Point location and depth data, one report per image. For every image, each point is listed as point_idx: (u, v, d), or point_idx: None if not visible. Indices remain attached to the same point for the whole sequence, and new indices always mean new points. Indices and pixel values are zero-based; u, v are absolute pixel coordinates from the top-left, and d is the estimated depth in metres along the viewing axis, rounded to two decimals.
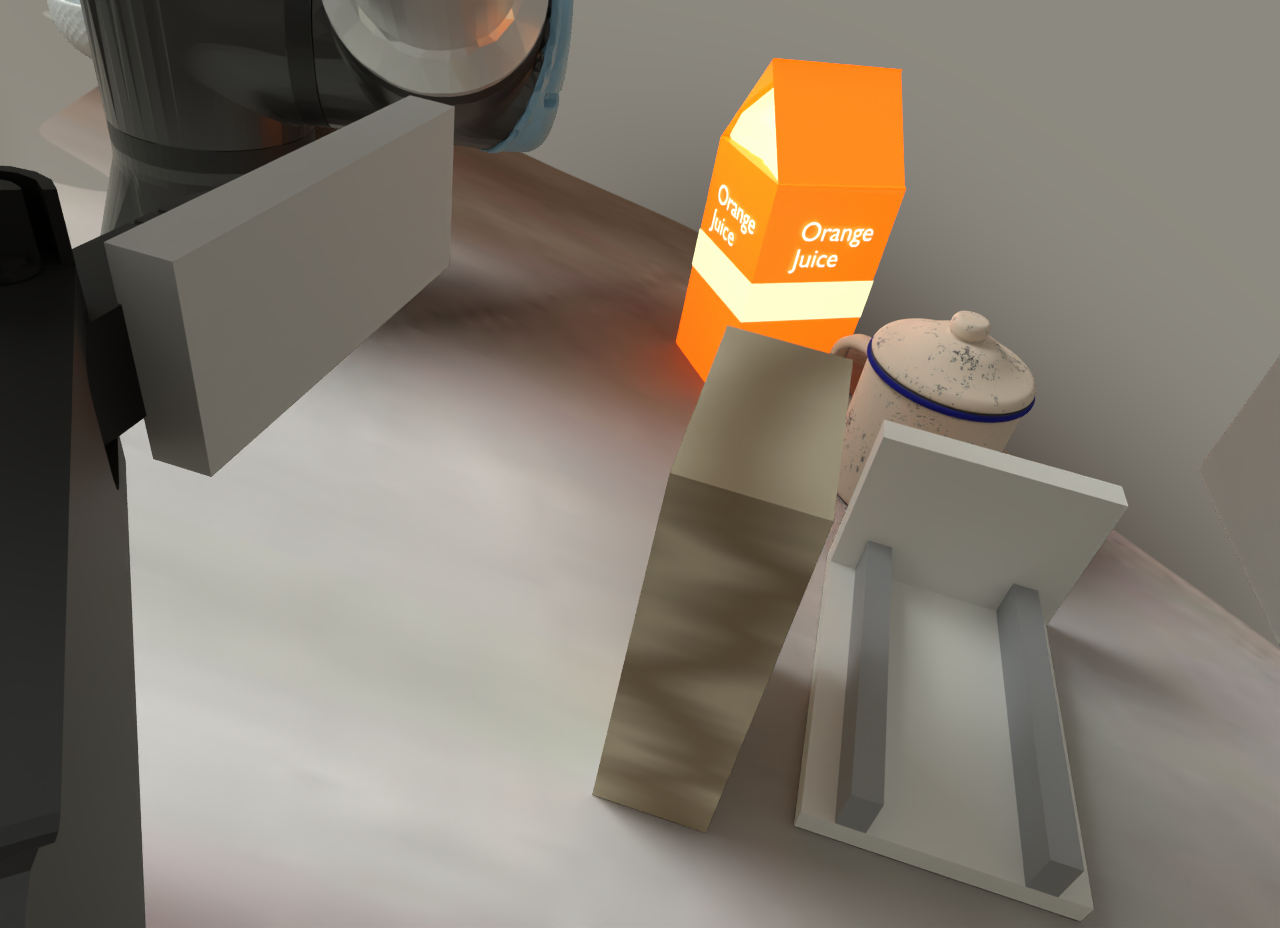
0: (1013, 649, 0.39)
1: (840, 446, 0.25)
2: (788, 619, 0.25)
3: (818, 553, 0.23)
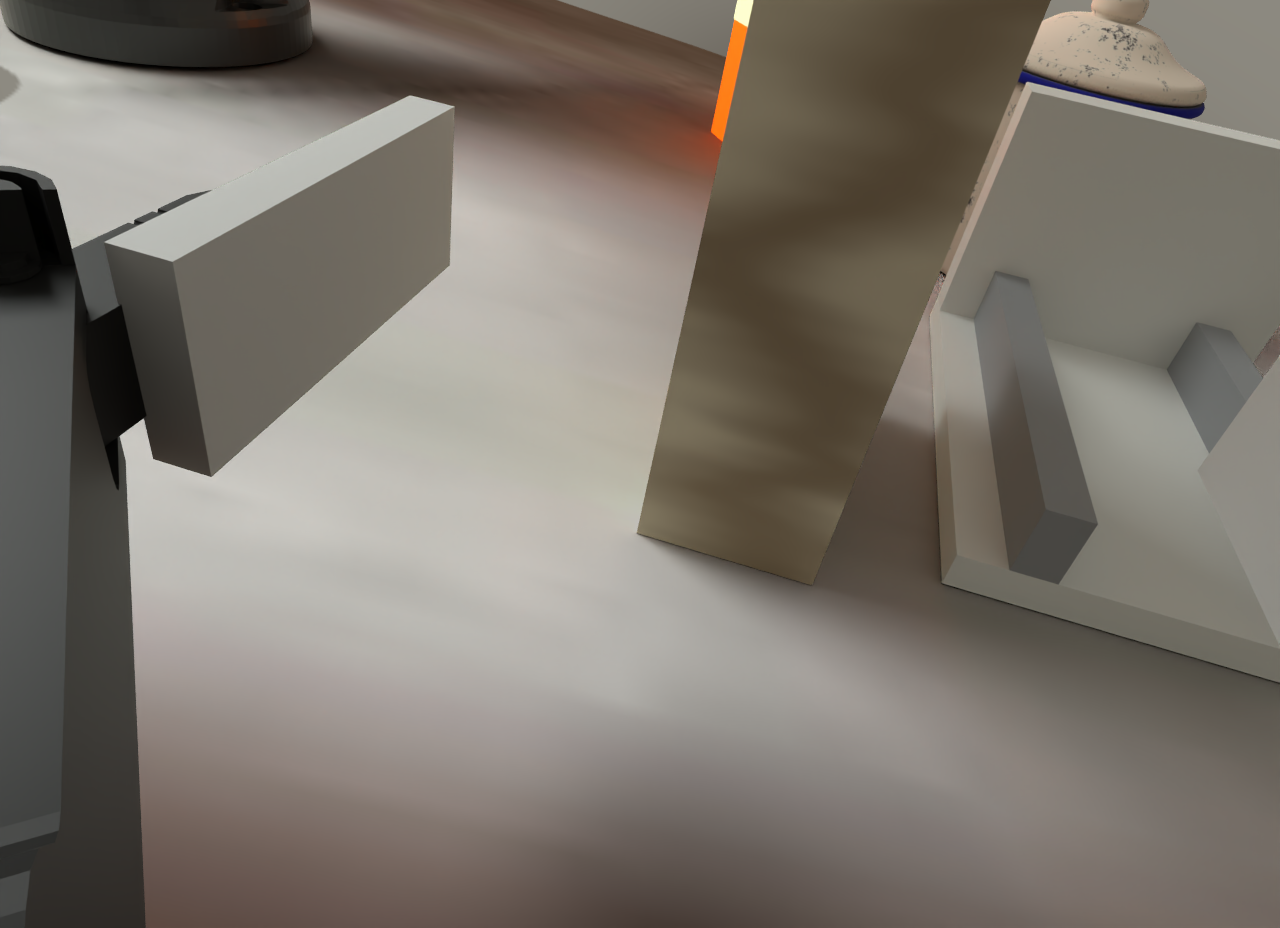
0: (1212, 391, 0.28)
1: None
2: (1016, 61, 0.14)
3: None
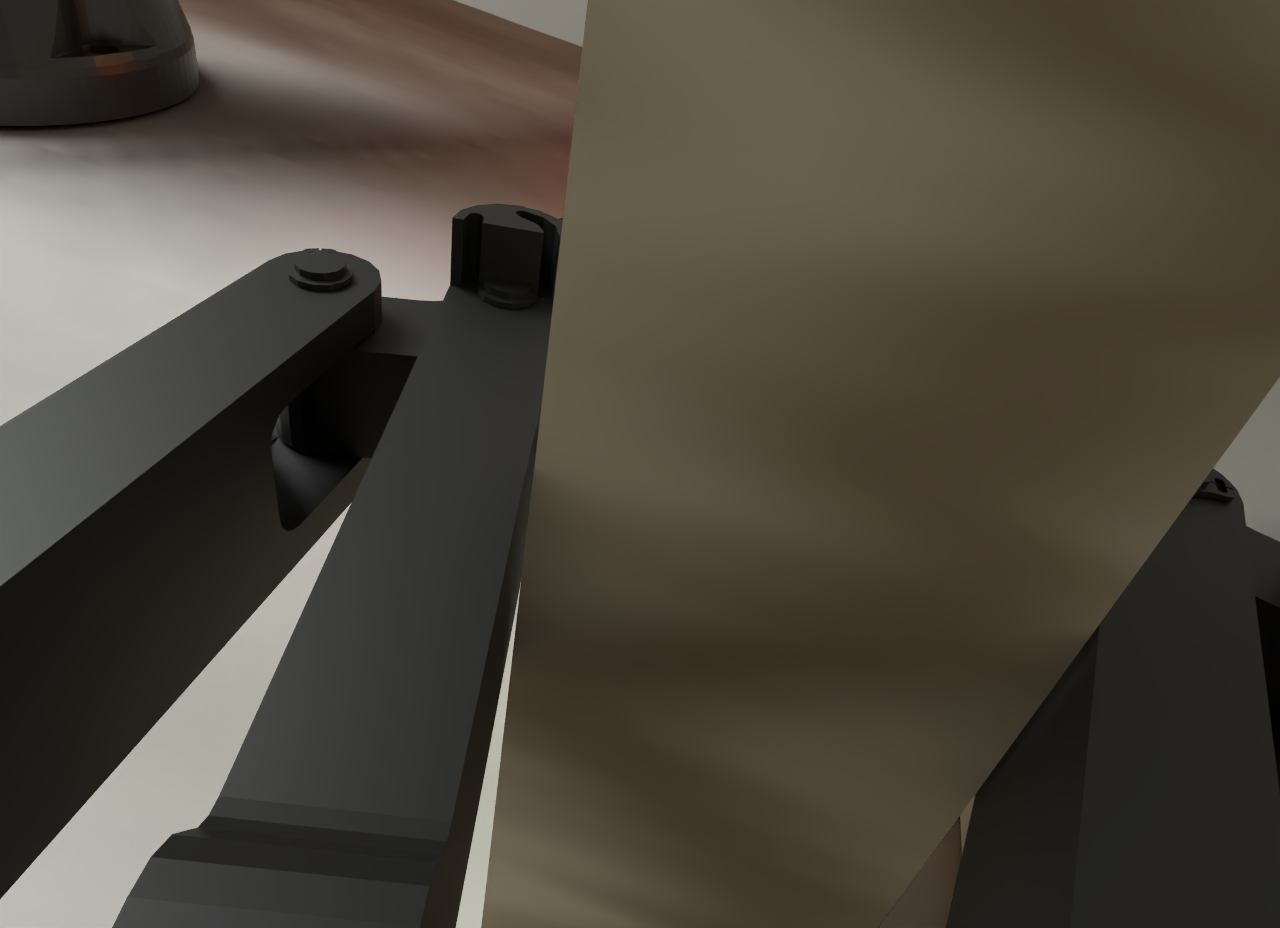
0: None
1: None
2: (1209, 437, 0.05)
3: None
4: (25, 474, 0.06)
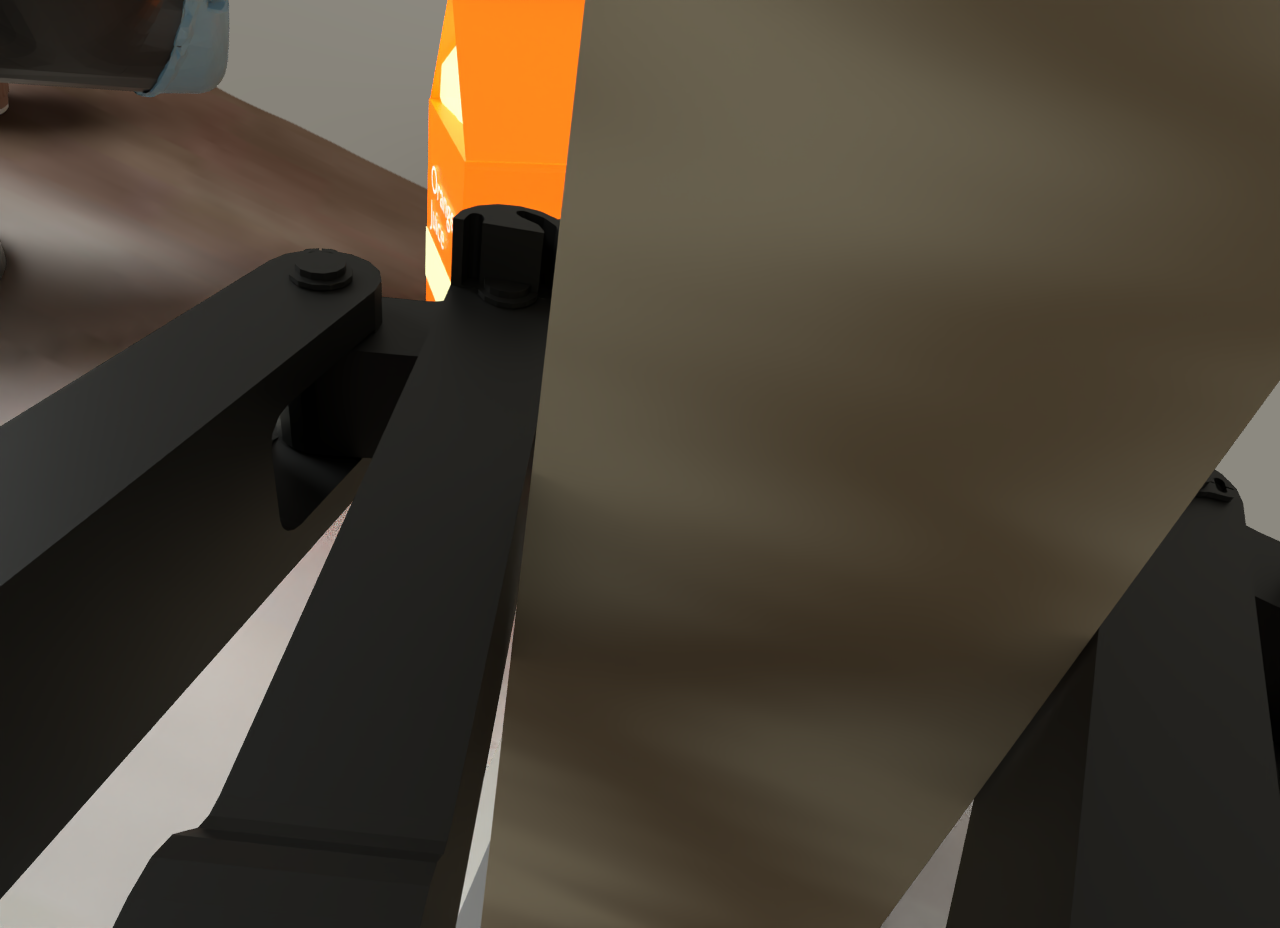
0: None
1: None
2: (1210, 439, 0.05)
3: None
4: (25, 474, 0.06)
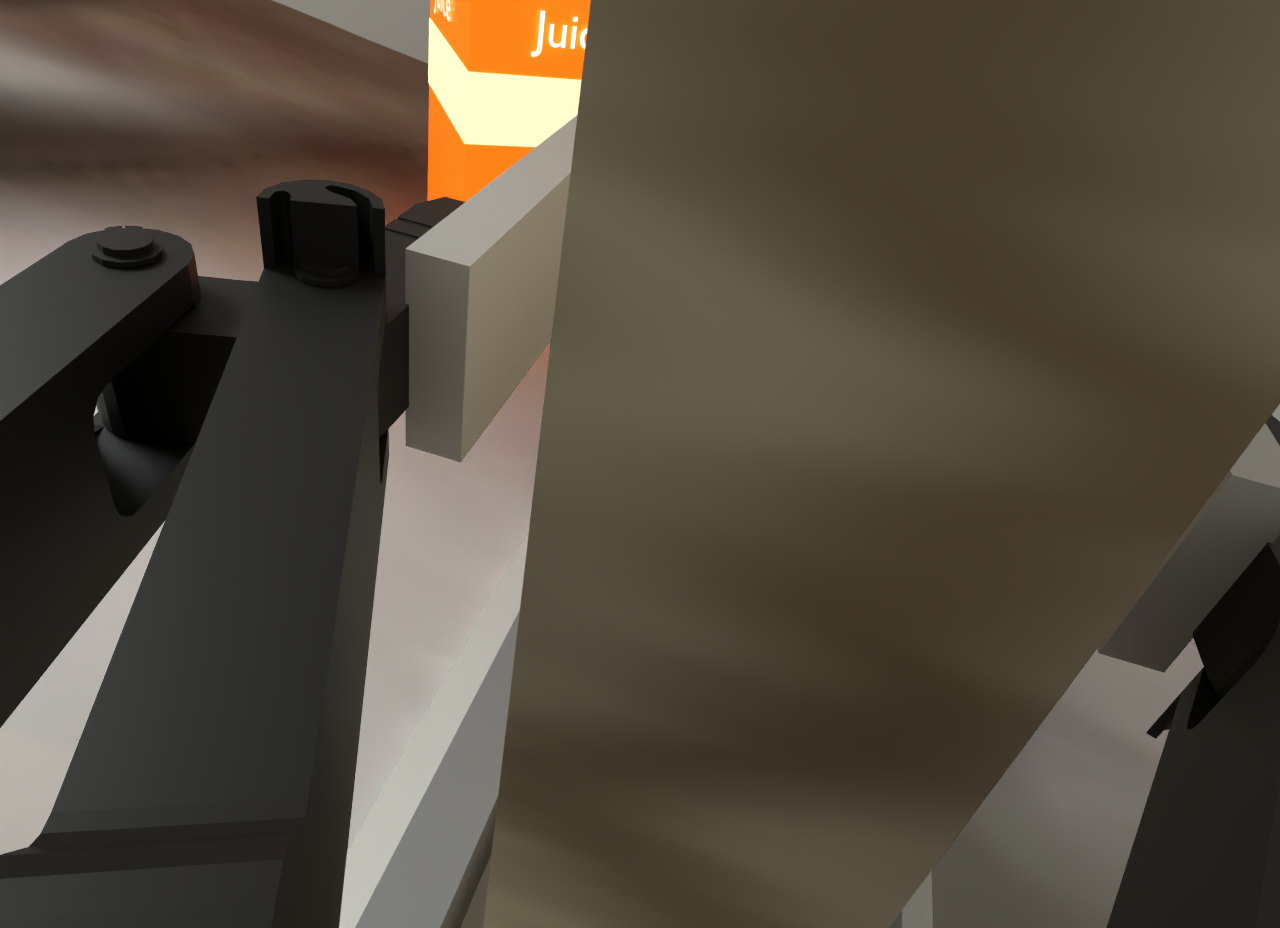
0: None
1: None
2: (1105, 606, 0.06)
3: None
4: None
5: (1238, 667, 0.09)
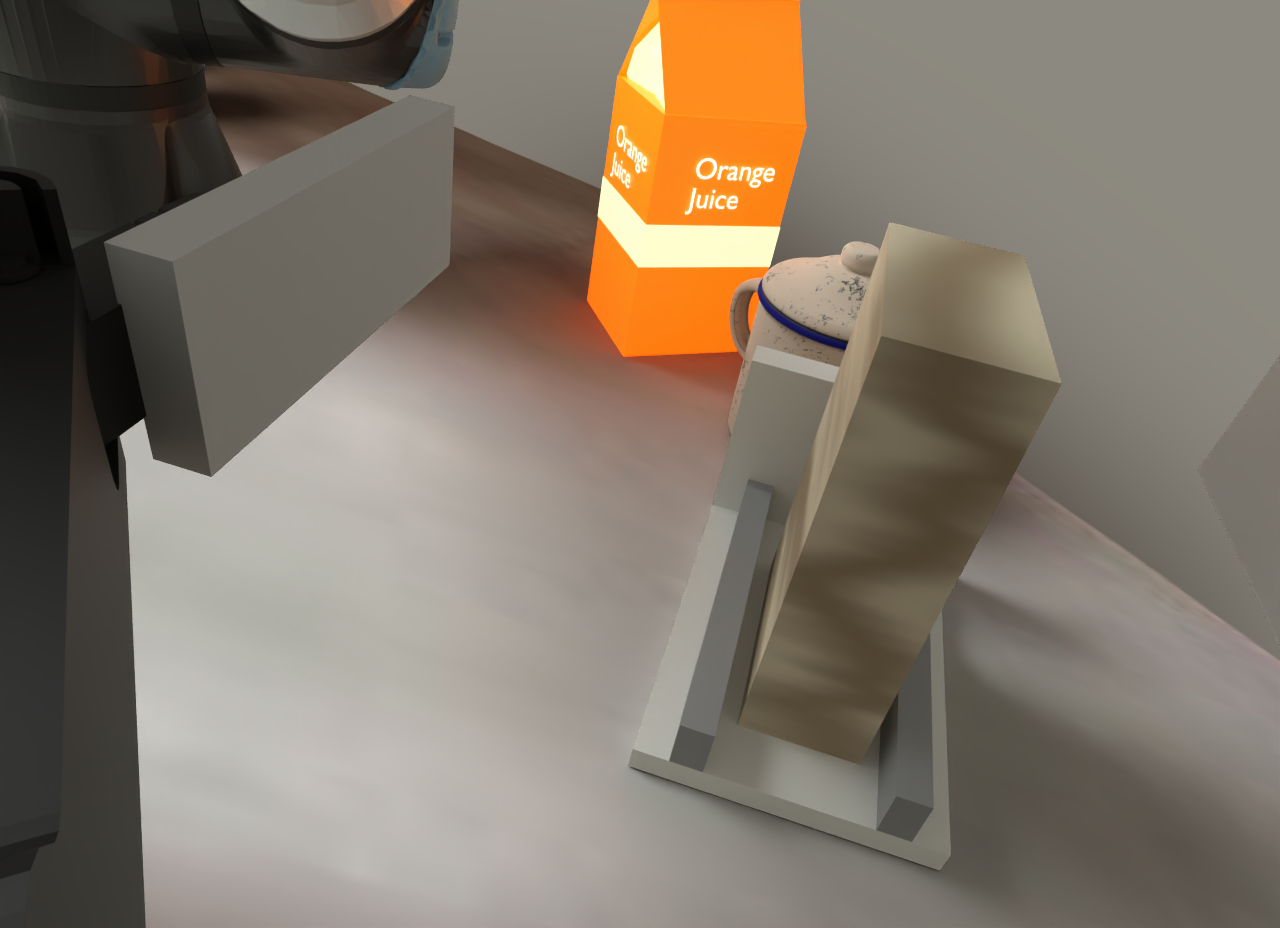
0: None
1: (1041, 323, 0.24)
2: (991, 504, 0.23)
3: (1038, 423, 0.22)
4: None
5: None
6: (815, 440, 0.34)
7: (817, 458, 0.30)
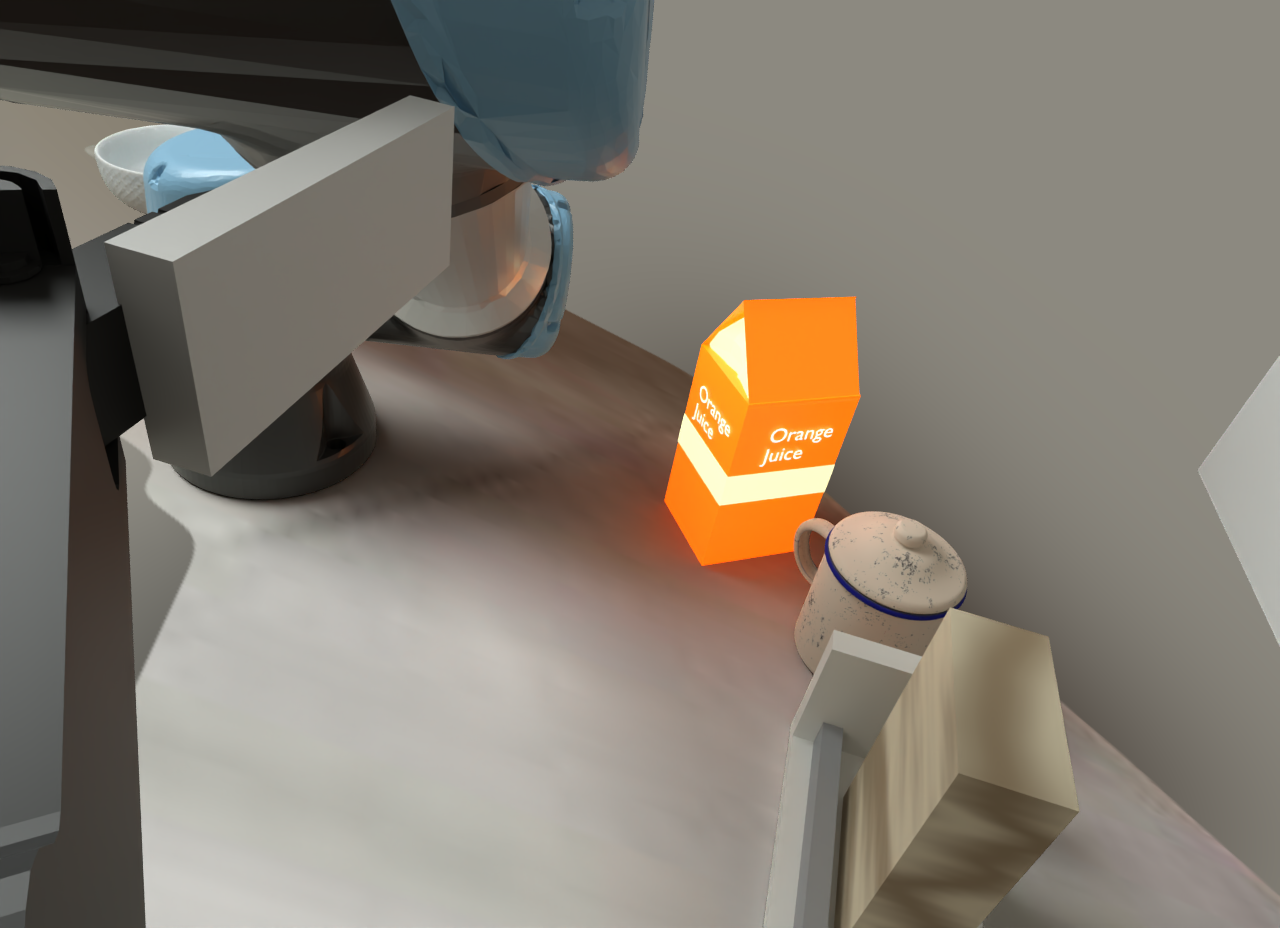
0: None
1: (1063, 733, 0.35)
2: (1029, 863, 0.34)
3: (1063, 828, 0.33)
4: None
5: None
6: (885, 729, 0.44)
7: (893, 768, 0.41)
